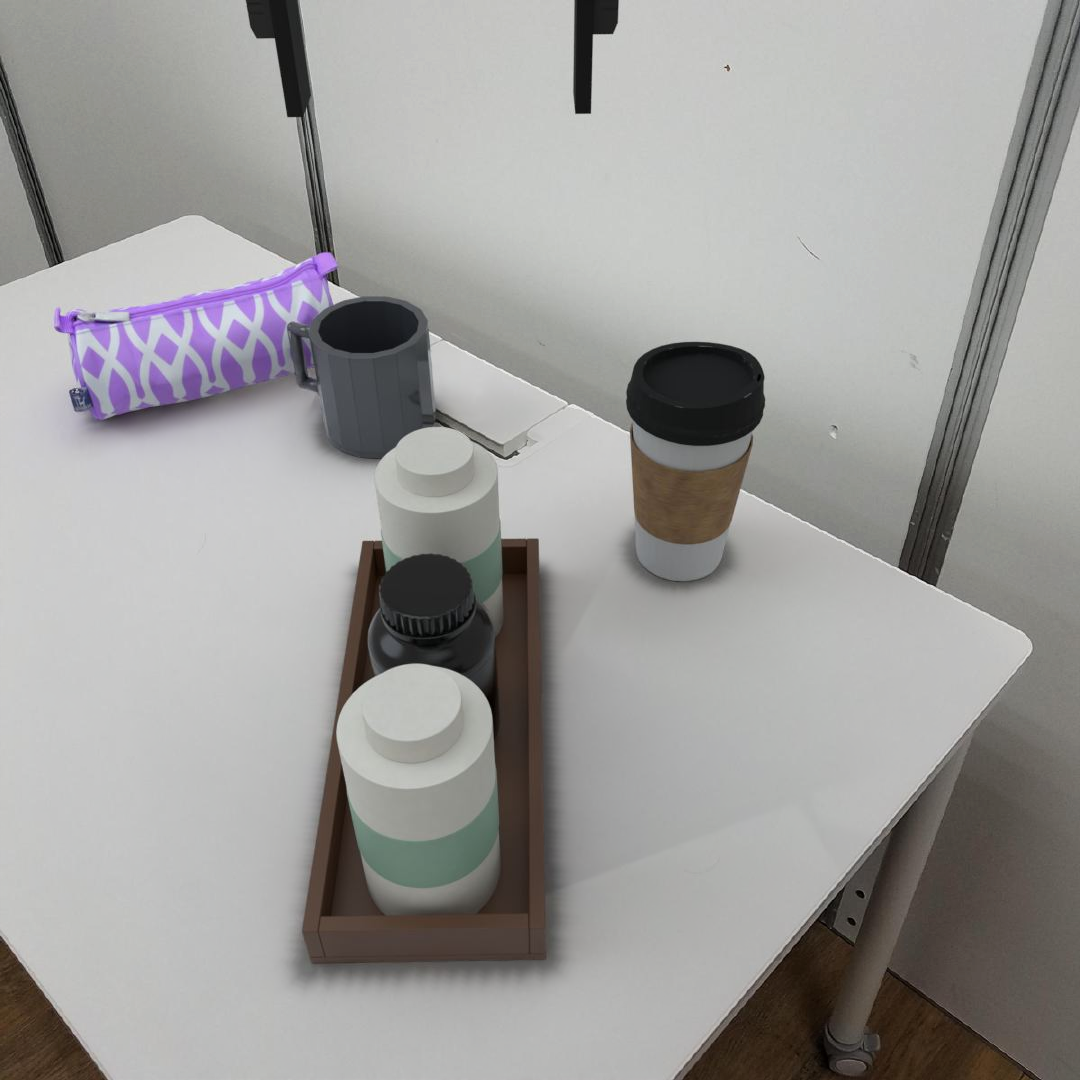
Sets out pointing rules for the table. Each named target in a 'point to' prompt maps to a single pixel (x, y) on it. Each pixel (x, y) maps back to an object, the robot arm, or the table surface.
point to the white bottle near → (422, 790)
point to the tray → (519, 899)
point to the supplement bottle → (435, 624)
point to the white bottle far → (444, 507)
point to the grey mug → (368, 372)
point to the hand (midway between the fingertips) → (440, 105)
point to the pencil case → (193, 341)
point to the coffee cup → (690, 451)
